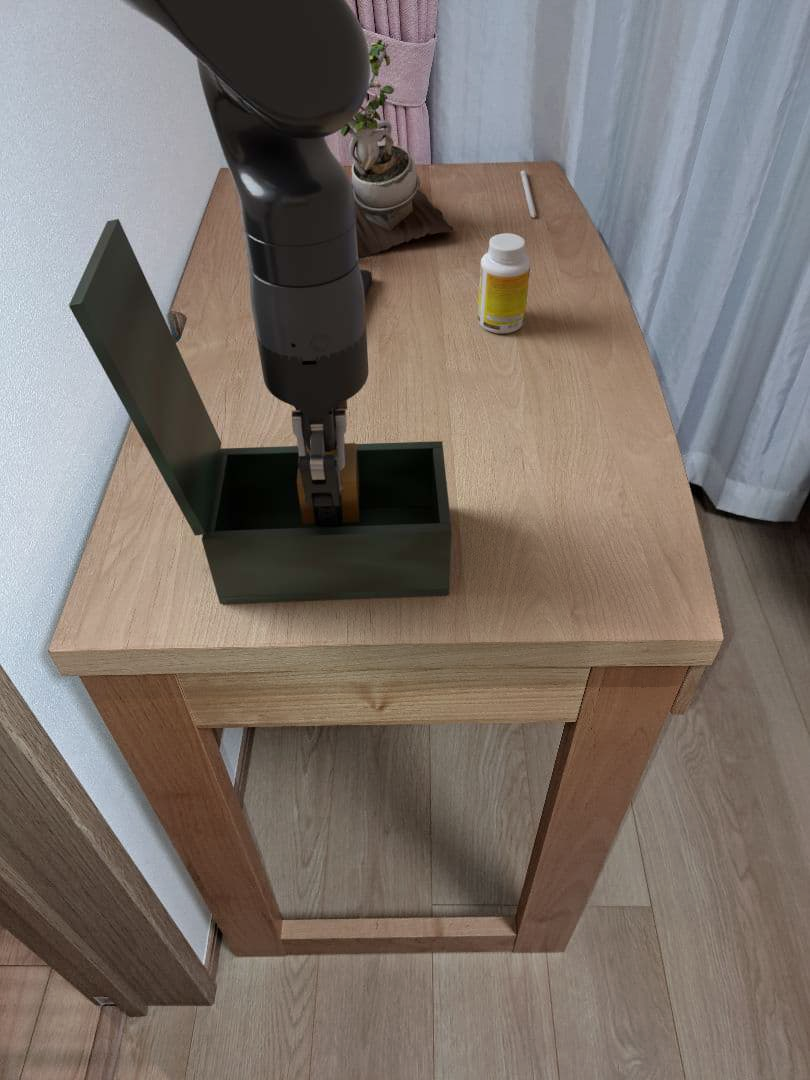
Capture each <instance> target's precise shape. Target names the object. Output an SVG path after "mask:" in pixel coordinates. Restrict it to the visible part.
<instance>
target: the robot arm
mask: <svg viewBox="0 0 810 1080" xmlns="http://www.w3.org/2000/svg"><path fill="white" fill-rule="evenodd" d="M119 1H120V2H122V3H123V4H125V5H126V6H128V7H129V8H131V9H132V10H133V11H135V12H136V13H138V14H140V15H141V16H143V17H144V18H146V19H148V20H150V21H151V22H153V23H155V24H156V25H158V26H159V27H160V28H162V29H164V30H165V31H166V33H167V32H168V33H169V34H170V35H171V37H173V38H174V39H176V41H178V42H179V43H180V44H181V45H182V46H183V47H184V48H185V49H187V51H189V52H190V54H192V55H193V56H194V57H195V58H196V63H197V70H198V74H199V79H200V84H201V87H202V91H203V95H204V99H205V101H206V105H207V109H208V112H209V114H210V119H211V121H212V124H213V127H214V129H215V133H216V136H217V139H218V143H219V146H220V148H221V151H222V155H223V157H224V160H225V163H226V165H227V168H228V170H229V173H230V175H231V177H232V178H231V179H232V181H233V184H234V186H235V189H236V192H237V196H238V201H239V208H240V209H239V210H240V219H241V225H242V232H243V238H244V243H245V251H246V256H247V262H248V263H247V264H248V270H249V297H250V304H251V311H252V317H253V323H254V324H253V325H254V329H255V330H254V331H255V335H256V341H257V346H258V354H259V359H260V365H261V371H262V377H263V382H264V385H265V388H266V389H267V390H268V392H269V393H270V394H271V395H272V396H274V397H275V399H277V400H278V401H281V402H283V403H285V404H287V405H290V406H291V407H293V408H295V409H294V410H291V426H292V433H293V435H294V436H295V437H296V441H297V446H298V454H299V461H298V463H297V464H298V468H299V469H300V475H301V479H302V484H303V489H304V493H305V503H307V507H313V509H314V517H315V524H316V525H317V526H318V527H339V526H341V525H342V524H343V512H342V502H341V501H342V495H341V491H343V485H341V479H340V470H342V469H343V468H344V467H345V460H346V455H345V443H346V441H345V434H346V433H347V428H348V427H347V426H348V420H347V419H348V417H347V410H348V400H349V399H351V398H352V397H354V396H355V395H356V394H357V393H359V392H360V391H361V390H362V389H363V387H364V386H365V384H366V383H367V380H368V378H369V353H368V338H367V337H368V335H367V320H366V319H367V317H366V300H365V297H364V286H363V281H362V276H361V271H360V270H361V267H360V259H359V258H358V243H357V226H356V210H355V200H354V193H353V188H352V180H351V178H350V175H349V174H348V172H347V171H346V169H345V167H344V166H343V165H342V164H341V162H340V161H339V160H338V158H336V156H335V155H334V154H333V152H332V151H331V149H330V147H329V145H328V143H327V141H326V138H325V137H329V136H330V135H333V134H336V133H337V132H340V131H341V129H342V128H343V127H345V126H346V125H347V124H348V123H349V122H350V121H351V120H352V119H353V118H354V119H355V115H356V114H357V113H358V111H359V110H360V108H361V106H363V105H364V102H365V99H366V97H367V93H368V91H369V89H368V86H369V80H370V78H371V64H370V57H369V53H370V51H369V46H368V42H367V38H366V35H365V32H364V30H363V27H362V25H361V23H360V21H359V19H358V17H357V15H356V14H355V12H354V11H353V9H352V7H351V6H350V4H349V3H348V2H347V0H119ZM367 90H368V91H367ZM336 444H337V450H338V452H337V453H336V454H334V455H325V452H330V451H333V450H336ZM306 445H307V447H308V449H309V451H310V454H309V453H308V452H307V448H306Z"/></svg>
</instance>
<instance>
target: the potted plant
mask: <svg viewBox="0 0 810 1080" xmlns="http://www.w3.org/2000/svg"><path fill="white" fill-rule="evenodd" d="M388 47H389V43H388V42H387V40H385V41H384V42H383V40H382V39H380V38H379V39H378V40H377V41H375V42H372V43H371V44H370V51H369V57H370V69H371V73H372V74H371V75H370V79H369V86H368V90H367V92H368V91H369V89H370V88H371V89H373V88H377V89H378V90H379V98H378V94H374V96H373V98H372V99H370V100H369V99H367V103H366V105H365V107H364V106H363V105H362V106H361V108H360V110H359V111H358V113H357V114H356V115H355V117H354V118H353V119H352V120H351V121H350V122H349V123H348V124H347V125H346V126H345V127H343V128H342V129H340V135H341V136H342V137H346V136H347V135H348V134H350V135H351V140H350V141H349V146H348V155H349V159H350V161H351V162H352V164H351V184H352V188H353V193H354V200H355V210H356V226H357V243H358V258H366V257H370V256H371V255H373V254H378V253H380V252H381V251H387V250H390V248H392V247H396V246H397V245H400V244H403V243H404V242H407V243H409V241H411V240H412V239H416V240H418V239H419V238H421V237H425V236H426V235H427V234H429V235H434V234H438V233H447V232H448V233H450V232H451V233H453V232H454V233H455V234H457V233H456V231H455V228H454V226H452V225H450V224H449V223H448V222H447V220H446V219H445V218H444V215H443V212H442V210H440V209H439V207H438V208H437V207H435V206H434V205H433V204H432V203H431V202H430V200H429V199H428V197H427V196H426V194H424V193H423V192H422V191H421V190H419V188H420V186H421V181H420V177H419V175H418V173H417V170H416V167H415V163H414V160H413V158H412V157H411V154H410V153H409V152H408V150H407V149H406V148H404V147H402V146H400V145H396V144H394V143H395V142H394V140H393V137H392V136H391V135H392V124H391V123H390V122H389V121H388V120H382V119H381V115H380V114H379V112H378V111H376V110H378V109H379V108H380V107H381V106H382V107H383V108H385V107H386V105H385V103H386V101H387V100H388V95H391V94H393V93H394V91H395V88H394V87H393V86H390V85H384V86H383V87H382V85H381V84H380V82H378V81H375V83H374V79H375V77H379V72H380V71H379V70H380V68H381V65H382V63H383V62H384V60H385V64H386V67H389V66H390V64H391V57H390V56H389V55H388V53H387V51H386V50H387V48H388ZM381 87H382V88H381ZM363 112H364V113H363ZM377 120H378V121H379V122H378V121H377ZM385 129H387V130H385ZM384 139H385V144H379V143H380V142H382V141H384Z"/></svg>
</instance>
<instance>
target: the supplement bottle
mask: <svg viewBox="0 0 810 1080" xmlns="http://www.w3.org/2000/svg"><path fill="white" fill-rule="evenodd" d="M479 270H480V271H479V286H478V303H477V321H478V324H479V325H480V327H481V328H483V329H484V330H486V331H488V332H490V333H493V334H498V335H499V334H501V335H504V334H510V333H511V334H512V333H514V332H516V331H518V330H519V329H521V328H522V327H523V325H524V323H525V319H526V311H527V310H526V309H527V301H528V292H529V291H528V290H529V281H530V271H531V259H530V257H529V256H528V255H527V254H526V240H525V239H524V238H523V236H520V235H518V234H515V233H509V232H508V233H507V232H505V233H498V234H495V235H493V236H492V237H490V239H489V243H488V251H487V252H486V253H485V254H483V256H482V257H481V260H480V269H479Z"/></svg>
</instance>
